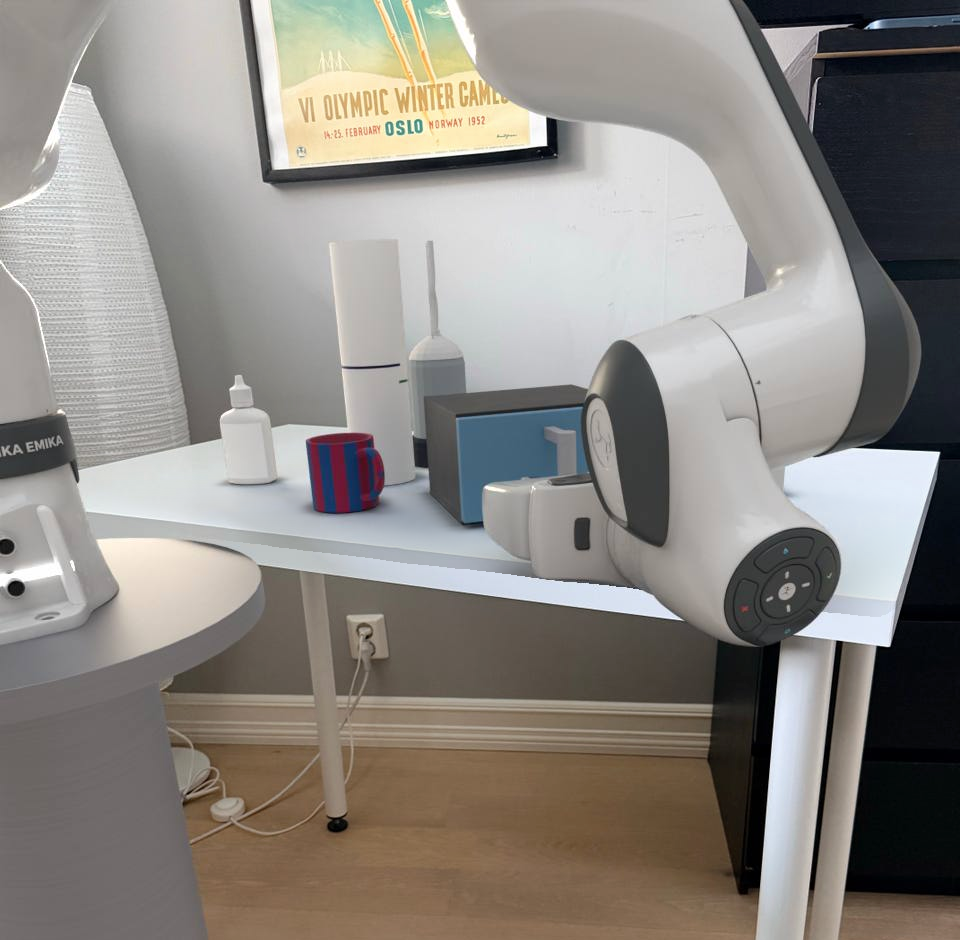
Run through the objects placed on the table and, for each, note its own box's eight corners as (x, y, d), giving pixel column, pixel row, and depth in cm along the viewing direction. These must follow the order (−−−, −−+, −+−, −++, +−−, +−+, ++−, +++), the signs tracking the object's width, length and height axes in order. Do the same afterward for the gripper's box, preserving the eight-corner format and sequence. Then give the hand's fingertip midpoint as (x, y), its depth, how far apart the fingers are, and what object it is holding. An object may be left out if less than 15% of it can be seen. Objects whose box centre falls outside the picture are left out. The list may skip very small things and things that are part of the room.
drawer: (658, 517, 82) (660, 411, 79) (479, 538, 78) (473, 428, 75) (581, 476, 99) (581, 388, 96) (432, 492, 96) (426, 401, 92)
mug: (360, 494, 99) (353, 430, 96) (407, 510, 91) (402, 440, 89) (302, 505, 96) (294, 438, 93) (347, 522, 88) (339, 450, 85)
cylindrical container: (340, 480, 106) (315, 244, 97) (390, 469, 111) (370, 242, 101) (377, 488, 101) (354, 240, 92) (428, 477, 106) (411, 238, 96)
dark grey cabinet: (623, 506, 89) (624, 399, 85) (461, 524, 85) (455, 414, 82) (572, 478, 101) (571, 384, 98) (430, 493, 98) (423, 396, 94)
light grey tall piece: (480, 453, 118) (469, 239, 108) (470, 466, 110) (457, 237, 101) (417, 454, 119) (402, 243, 109) (403, 468, 111) (385, 242, 102)
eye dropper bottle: (252, 487, 105) (236, 378, 100) (223, 482, 108) (207, 376, 104) (283, 480, 108) (269, 374, 103) (254, 475, 111) (239, 372, 107)
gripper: (798, 459, 64) (703, 430, 76) (513, 489, 59) (462, 453, 72) (791, 548, 66) (700, 505, 79) (516, 583, 62) (466, 532, 74)
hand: (584, 480), depth 75 cm, fingers open, 8 cm apart
